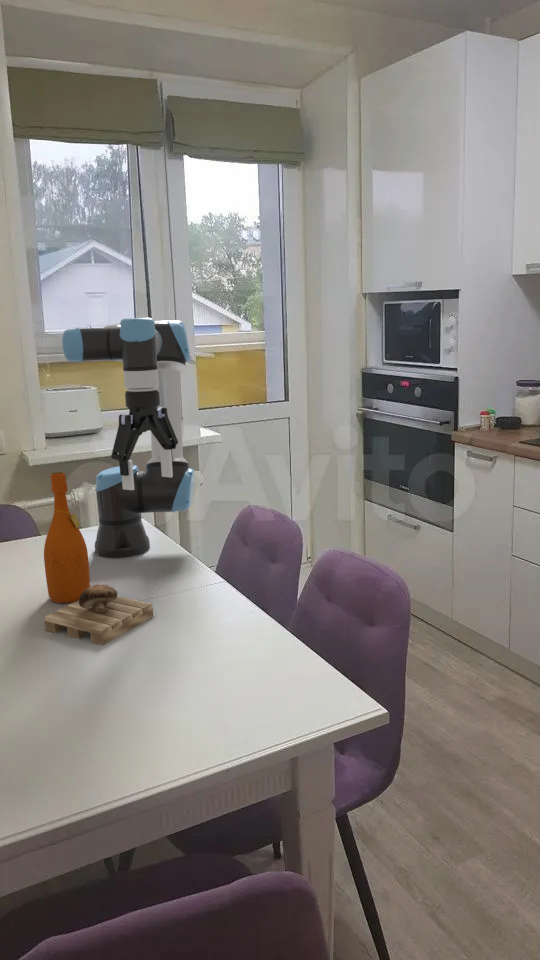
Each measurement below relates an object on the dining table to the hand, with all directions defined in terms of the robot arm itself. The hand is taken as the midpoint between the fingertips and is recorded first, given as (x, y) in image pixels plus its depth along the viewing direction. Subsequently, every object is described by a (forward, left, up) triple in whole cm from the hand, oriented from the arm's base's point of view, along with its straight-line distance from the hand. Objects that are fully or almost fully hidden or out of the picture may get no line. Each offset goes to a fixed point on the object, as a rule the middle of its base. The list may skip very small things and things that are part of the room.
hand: (148, 483), depth 169 cm
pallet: (+19, 0, -27) cm, 33 cm away
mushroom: (+19, 0, -24) cm, 30 cm away
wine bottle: (+11, -17, -27) cm, 34 cm away
